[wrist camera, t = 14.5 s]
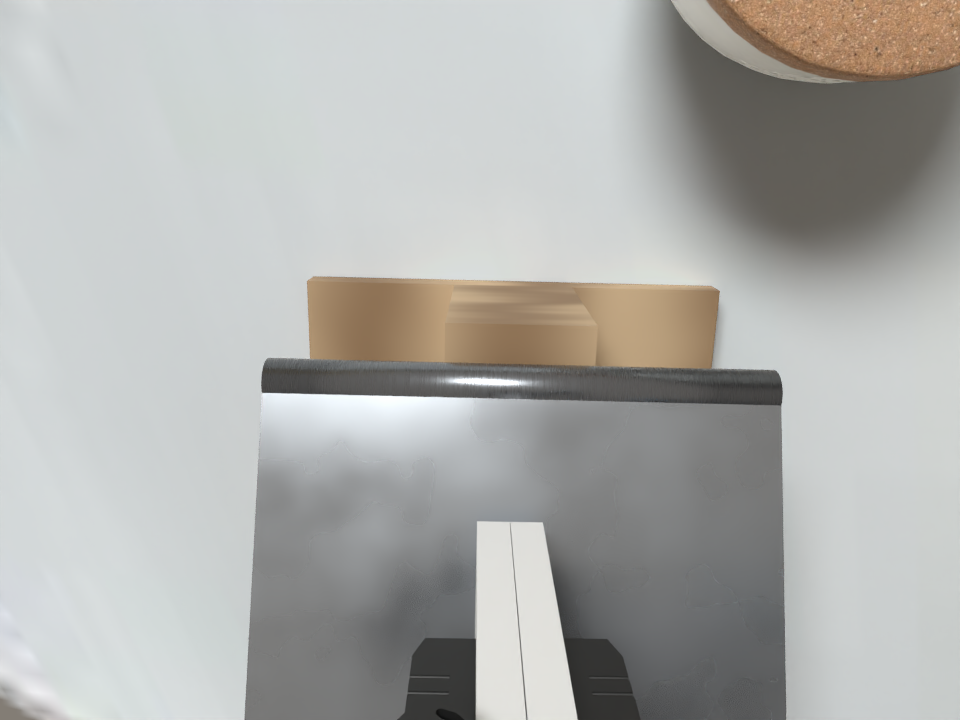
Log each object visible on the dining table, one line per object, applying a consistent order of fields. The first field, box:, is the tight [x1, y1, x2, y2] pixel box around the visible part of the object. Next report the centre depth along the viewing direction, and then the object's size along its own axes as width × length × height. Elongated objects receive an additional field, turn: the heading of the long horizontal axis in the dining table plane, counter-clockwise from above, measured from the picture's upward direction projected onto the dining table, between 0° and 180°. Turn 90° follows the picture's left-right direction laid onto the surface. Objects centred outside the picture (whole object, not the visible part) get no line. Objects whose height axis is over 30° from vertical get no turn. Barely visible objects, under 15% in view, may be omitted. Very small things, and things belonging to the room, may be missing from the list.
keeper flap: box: [245, 358, 786, 720], centre depth 19 cm, size 13×9×1 cm
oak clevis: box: [307, 277, 720, 369], centre depth 26 cm, size 14×22×7 cm, turn 179°
